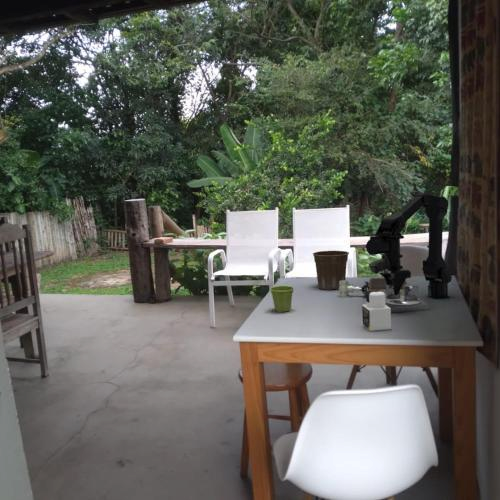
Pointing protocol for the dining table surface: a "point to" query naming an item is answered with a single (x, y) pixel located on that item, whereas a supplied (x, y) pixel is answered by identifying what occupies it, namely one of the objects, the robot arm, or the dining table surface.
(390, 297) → the steel spacer
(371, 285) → the hardcover book
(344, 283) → the valve
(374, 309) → the medicine bottle
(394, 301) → the dial scale
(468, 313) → the dining table surface
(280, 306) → the plant pot
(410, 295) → the cylinder
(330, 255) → the plant pot
